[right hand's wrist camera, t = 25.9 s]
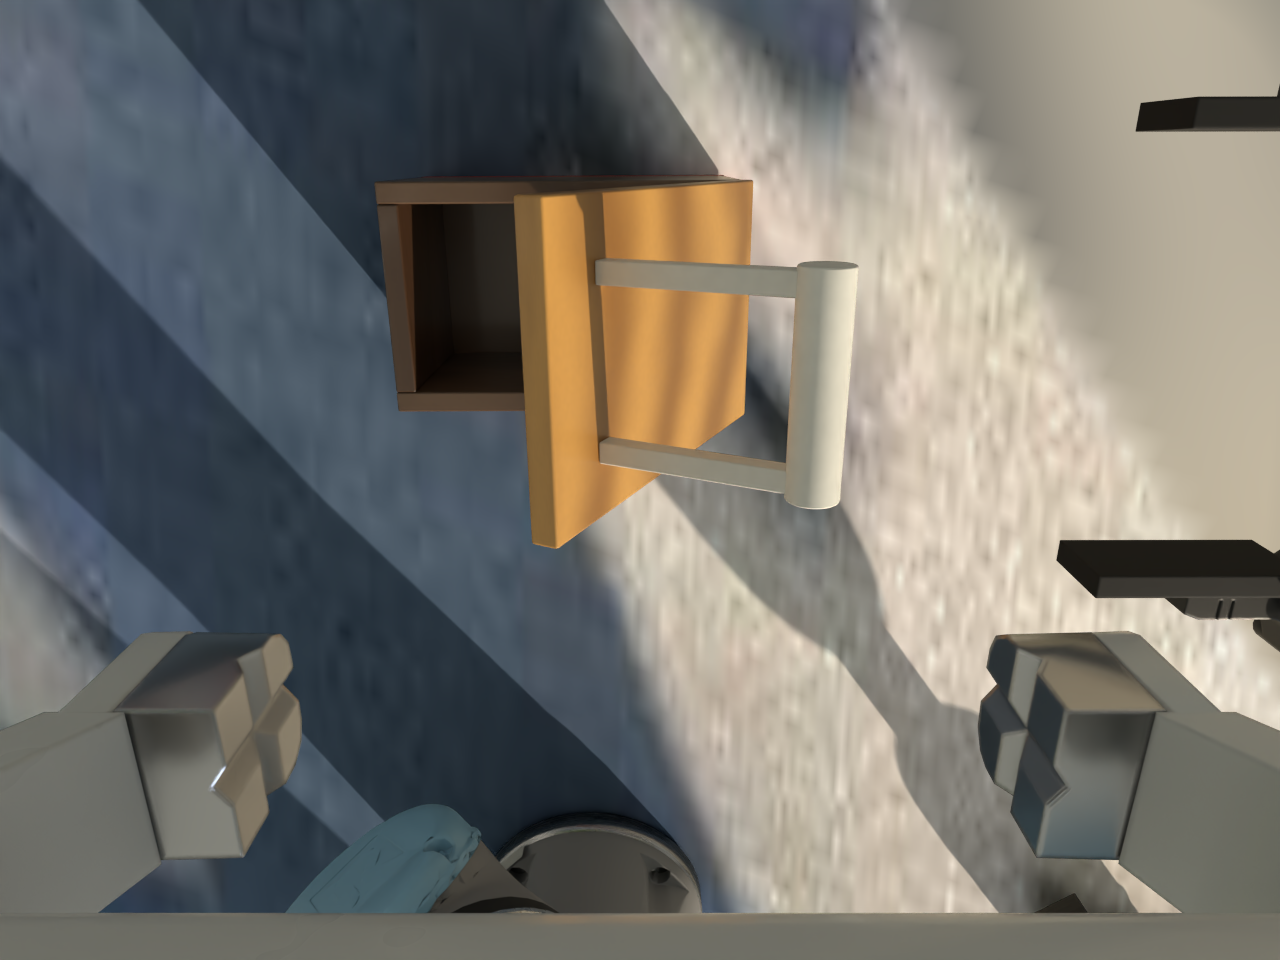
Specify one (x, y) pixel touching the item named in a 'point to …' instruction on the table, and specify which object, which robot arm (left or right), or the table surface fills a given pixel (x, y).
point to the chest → (464, 283)
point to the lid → (665, 349)
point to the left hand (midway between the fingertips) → (1115, 362)
